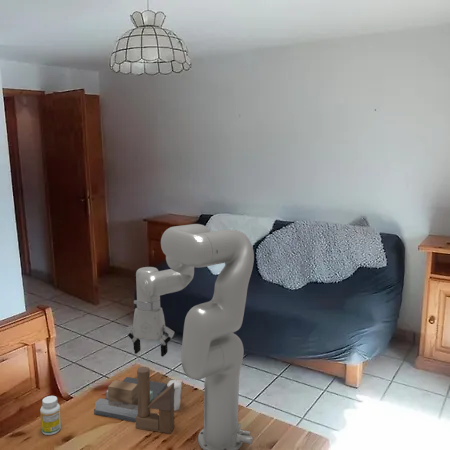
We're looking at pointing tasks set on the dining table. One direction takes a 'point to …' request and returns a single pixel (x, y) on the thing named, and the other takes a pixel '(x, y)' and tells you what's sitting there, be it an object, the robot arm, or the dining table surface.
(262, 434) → the dining table surface
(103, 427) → the dining table surface
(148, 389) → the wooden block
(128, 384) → the walnut block
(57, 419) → the supplement bottle
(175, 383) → the milkshake
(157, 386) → the vise base
